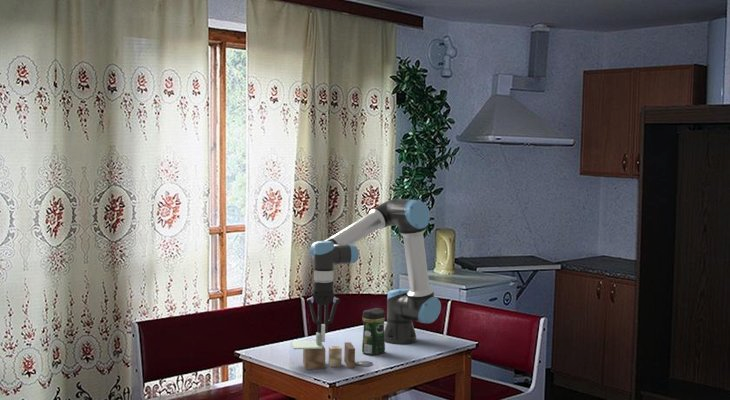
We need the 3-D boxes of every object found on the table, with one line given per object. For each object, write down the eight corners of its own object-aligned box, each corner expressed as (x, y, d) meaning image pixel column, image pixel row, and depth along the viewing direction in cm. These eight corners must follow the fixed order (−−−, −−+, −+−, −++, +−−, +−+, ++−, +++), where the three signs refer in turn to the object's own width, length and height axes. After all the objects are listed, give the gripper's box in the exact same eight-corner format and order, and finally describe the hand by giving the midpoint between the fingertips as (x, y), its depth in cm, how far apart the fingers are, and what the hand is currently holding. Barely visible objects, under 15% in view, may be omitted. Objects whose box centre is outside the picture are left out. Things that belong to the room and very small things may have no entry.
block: (339, 363, 311) (340, 345, 311) (341, 366, 307) (341, 348, 306) (328, 363, 310) (328, 346, 310) (329, 366, 306) (330, 348, 306)
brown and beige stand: (350, 360, 315) (350, 342, 315) (354, 367, 304) (355, 348, 304) (302, 362, 312) (303, 343, 312) (305, 369, 301) (305, 349, 301)
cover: (319, 342, 313) (319, 330, 313) (322, 348, 302) (322, 336, 301) (291, 342, 311) (291, 331, 311) (293, 349, 300) (293, 337, 299)
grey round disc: (371, 361, 314) (371, 360, 314) (374, 366, 308) (374, 365, 308) (353, 362, 313) (353, 361, 313) (356, 366, 306) (356, 365, 306)
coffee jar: (373, 349, 336) (374, 306, 335) (387, 352, 330) (388, 308, 329) (358, 353, 328) (359, 308, 328) (372, 356, 323) (373, 311, 322)
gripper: (338, 279, 311) (337, 338, 312) (305, 279, 309) (305, 339, 310) (341, 282, 304) (340, 343, 305) (307, 282, 301) (306, 343, 302)
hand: (322, 341), depth 307 cm, fingers closed
